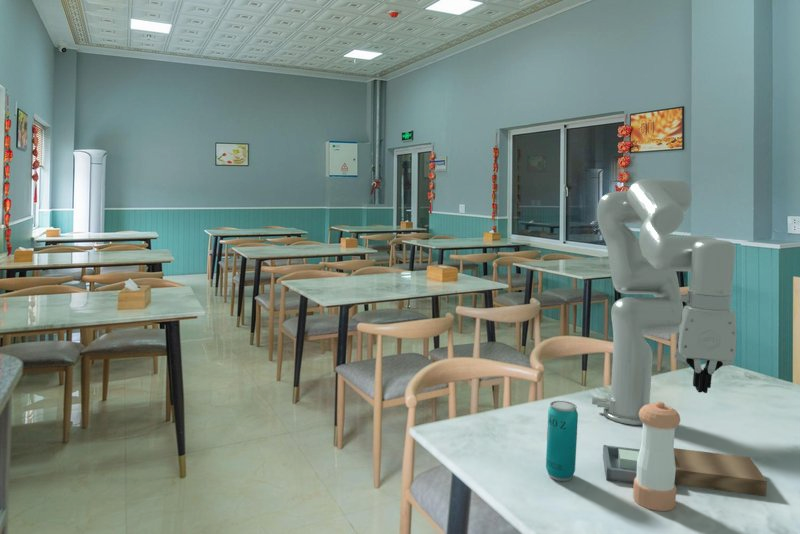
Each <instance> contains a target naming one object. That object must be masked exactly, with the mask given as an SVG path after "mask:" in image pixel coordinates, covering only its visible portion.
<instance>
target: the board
mask: <svg viewBox="0 0 800 534" xmlns="http://www.w3.org/2000/svg"><path fill="white" fill-rule="evenodd" d="M674 457H675V467H676V472H675V478H676V479H675V485H681V486H688V487H695V488H702V489H710V490H717V491H726V492H733V493H741V494H748V495H756V496H763V497H766V495H767V487H768V486H767V485H768V480H767V479H766V478H765V476H764V475H763V473H762V472H761V471H760V469H759V468H758V466H757V465H756V464H755V463H754V461H753V460H752V458H751V457H750V456H744V455H736V454H735V455H734V454H728V453H727V454H725V453H719V452H709V451H701V450H693V449H686V448H685V449H684V448H675V447H674Z"/></svg>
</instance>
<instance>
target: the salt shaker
mask: <svg viewBox="0 0 800 534" xmlns="http://www.w3.org/2000/svg"><path fill="white" fill-rule="evenodd" d="M639 418H640V420H641V421H642V422H643V425H642V430H641V445H640V448H639V449H640V451H639V455H638V460H637V477H635V479H634V484H633V492H632V498H633V501H634V502H635V503H637V504H638V505H639V506H641V507H643V508H645V509H648V510H652V511H656V512H657V511H658V512H668V511H672V510H674V508H676V496H677V486H676V484H674V481H675V472H676V467H675V457H674V448H675V435H676V434H675V433H676V432H675V430H676V428H677V427H678V426H679V425H680V423H681V416H680V414H679V412H678V411H677V410H676V409H675V408H673V407H671V406H669V405H667V404H665V403H664V402H662V401H656V402H654V403H650V404H648V405H644V406H643V407H642V408H641V409H640V411H639Z"/></svg>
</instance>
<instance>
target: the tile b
mask: <svg viewBox="0 0 800 534" xmlns="http://www.w3.org/2000/svg"><path fill="white" fill-rule="evenodd" d="M638 455H639V451H632V450H624V449H618V461H619V467H620V468H626V469H634V470H637V460H638Z"/></svg>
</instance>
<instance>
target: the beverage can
mask: <svg viewBox="0 0 800 534" xmlns="http://www.w3.org/2000/svg"><path fill="white" fill-rule="evenodd" d="M549 405H550V407H549V408H548V412H547V413H548V415H547V432H546V434H547V435H546V452H545V453H546V455H545V456H546V457H545V458H546V459H545V468H546V472H547V474H548V476H549V477H550V478H551V479H552V480H555V481H558V482H567V481H568V482H569V481H571V479H572V478H573V476H574V474H575V472H576V461H577V460H576V459H577V441H578V440H577V439H578V436H577V435H578V417H579V413H578V410H577V404H575V403H573V402H570V401H566V400H555V401H550V404H549Z"/></svg>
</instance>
